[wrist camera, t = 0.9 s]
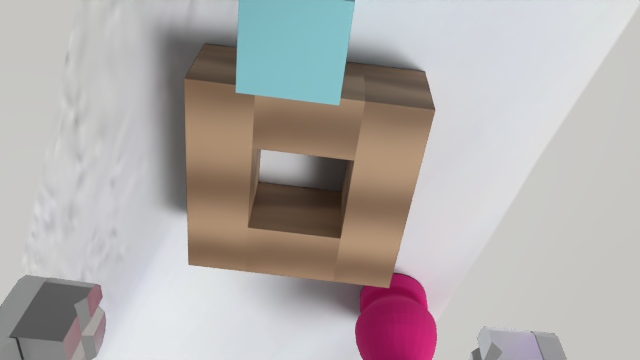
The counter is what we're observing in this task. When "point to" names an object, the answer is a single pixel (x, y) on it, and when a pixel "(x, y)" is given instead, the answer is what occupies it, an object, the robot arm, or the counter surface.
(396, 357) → the pepper mill
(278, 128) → the wooden holder
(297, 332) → the counter surface
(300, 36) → the teal rectangular block
